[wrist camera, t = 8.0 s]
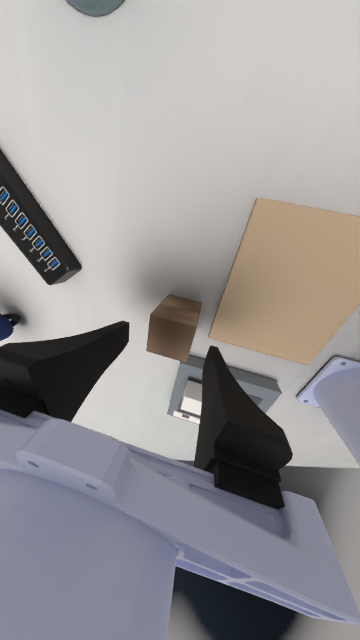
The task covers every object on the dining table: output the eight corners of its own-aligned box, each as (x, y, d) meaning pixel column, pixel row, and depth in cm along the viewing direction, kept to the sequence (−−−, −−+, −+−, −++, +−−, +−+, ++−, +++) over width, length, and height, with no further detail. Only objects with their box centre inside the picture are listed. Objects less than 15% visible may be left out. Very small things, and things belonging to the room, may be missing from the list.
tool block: (201, 302, 17) (196, 327, 12) (193, 330, 19) (186, 362, 14) (169, 294, 17) (150, 314, 12) (164, 322, 19) (146, 350, 14)
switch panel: (275, 380, 20) (282, 394, 18) (241, 426, 25) (243, 440, 23) (183, 353, 21) (180, 363, 19) (170, 403, 26) (166, 414, 25)
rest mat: (413, 229, 11) (423, 228, 11) (304, 361, 18) (307, 365, 17) (255, 199, 12) (258, 197, 12) (208, 335, 19) (208, 337, 18)
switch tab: (209, 386, 19) (209, 404, 17) (204, 398, 21) (203, 416, 18) (187, 380, 20) (184, 396, 17) (183, 392, 21) (180, 408, 19)
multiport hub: (65, 282, 20) (48, 286, 18) (-29, 159, 16) (-66, 145, 14) (85, 267, 18) (69, 270, 16) (-13, 125, 14) (-51, 104, 12)
